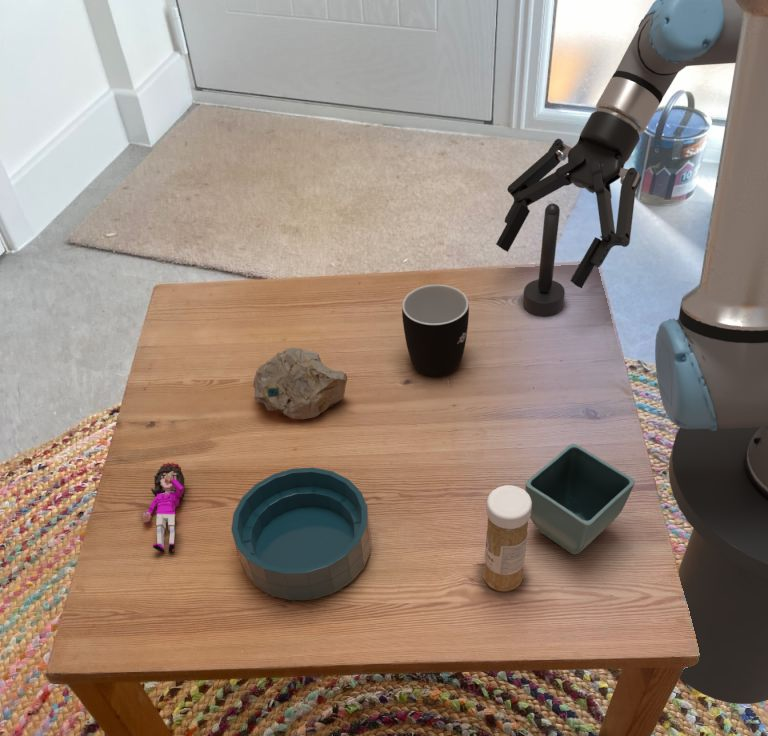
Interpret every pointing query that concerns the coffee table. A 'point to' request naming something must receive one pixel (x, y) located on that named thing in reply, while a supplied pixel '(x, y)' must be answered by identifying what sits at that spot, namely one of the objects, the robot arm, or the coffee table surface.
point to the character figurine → (166, 502)
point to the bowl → (302, 533)
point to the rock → (298, 384)
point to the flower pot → (577, 497)
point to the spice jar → (506, 537)
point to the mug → (435, 328)
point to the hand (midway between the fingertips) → (537, 266)
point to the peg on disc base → (546, 272)
